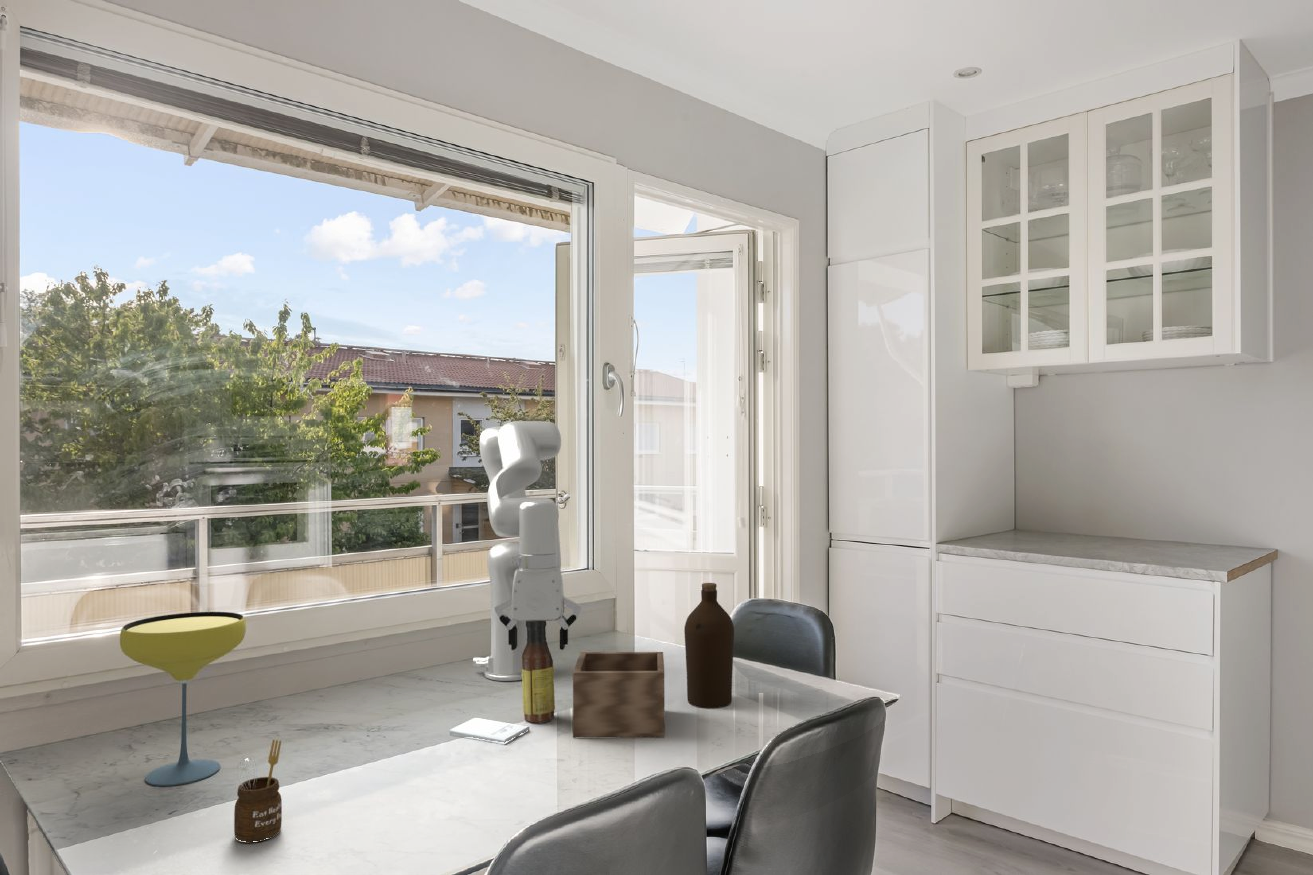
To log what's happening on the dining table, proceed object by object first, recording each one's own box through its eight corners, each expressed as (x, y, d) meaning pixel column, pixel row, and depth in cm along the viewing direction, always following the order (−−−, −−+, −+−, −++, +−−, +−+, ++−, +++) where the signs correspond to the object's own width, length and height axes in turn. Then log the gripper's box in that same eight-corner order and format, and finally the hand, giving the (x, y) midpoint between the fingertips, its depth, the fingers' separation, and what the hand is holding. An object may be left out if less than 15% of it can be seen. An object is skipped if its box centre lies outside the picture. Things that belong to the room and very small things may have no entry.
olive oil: (736, 709, 168) (736, 587, 169) (685, 709, 168) (684, 587, 169) (732, 694, 179) (731, 579, 179) (684, 694, 179) (683, 580, 180)
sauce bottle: (560, 715, 164) (560, 616, 165) (545, 725, 158) (545, 623, 159) (530, 712, 167) (531, 614, 167) (515, 722, 161) (516, 620, 161)
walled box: (573, 737, 152) (573, 672, 152) (580, 710, 168) (580, 652, 168) (664, 737, 152) (664, 672, 152) (663, 710, 168) (663, 651, 168)
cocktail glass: (164, 752, 144) (166, 611, 145) (265, 753, 144) (266, 611, 144) (90, 795, 126) (92, 633, 127) (205, 796, 126) (206, 633, 126)
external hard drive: (476, 725, 161) (529, 733, 156) (449, 738, 153) (504, 747, 148) (476, 716, 161) (529, 725, 156) (449, 729, 153) (504, 738, 148)
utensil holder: (223, 840, 111) (224, 751, 112) (261, 821, 117) (261, 737, 118) (256, 847, 109) (257, 757, 110) (292, 827, 115) (293, 742, 115)
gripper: (491, 564, 159) (491, 653, 159) (579, 564, 159) (580, 652, 159) (498, 560, 167) (498, 644, 166) (583, 559, 167) (583, 643, 167)
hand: (538, 648), depth 163 cm, fingers open, 9 cm apart
